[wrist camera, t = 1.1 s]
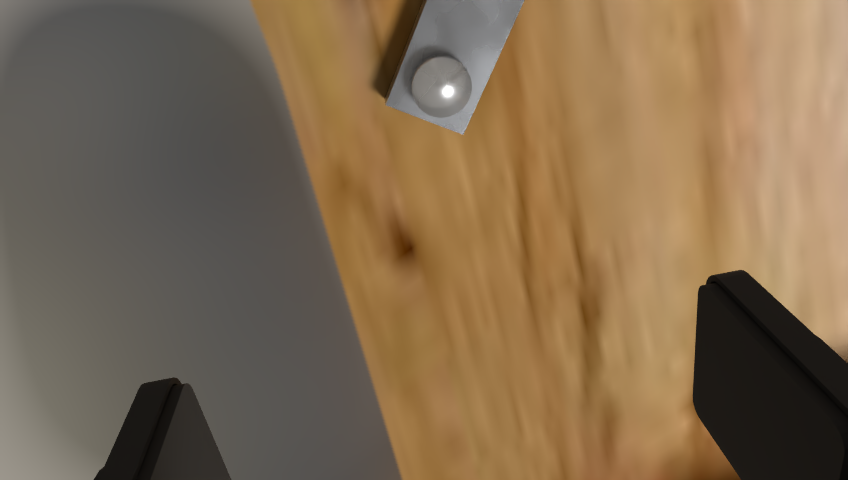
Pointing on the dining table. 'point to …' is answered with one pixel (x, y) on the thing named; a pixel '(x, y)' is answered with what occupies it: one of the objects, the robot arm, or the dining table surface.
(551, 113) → the dining table surface
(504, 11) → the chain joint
